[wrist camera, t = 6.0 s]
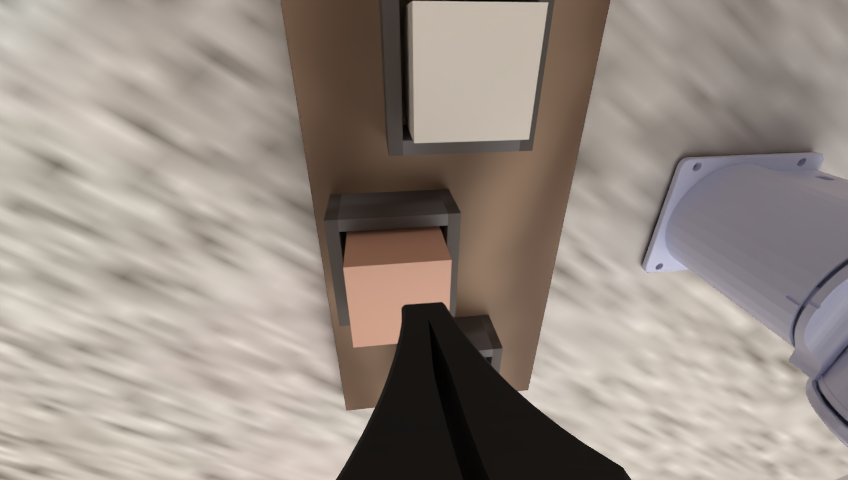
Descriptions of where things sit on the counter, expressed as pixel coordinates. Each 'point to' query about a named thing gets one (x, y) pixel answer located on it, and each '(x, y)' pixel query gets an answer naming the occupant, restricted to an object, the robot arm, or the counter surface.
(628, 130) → the counter surface
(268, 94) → the counter surface
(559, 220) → the brown socket board
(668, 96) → the counter surface
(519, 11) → the cream cube
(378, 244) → the salmon pink cube
